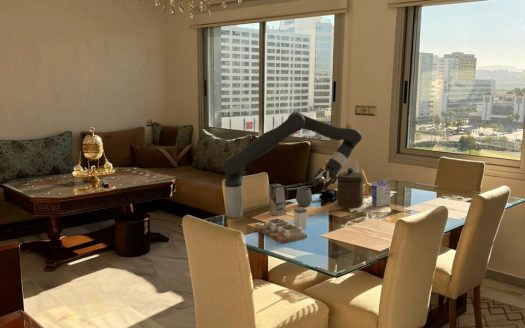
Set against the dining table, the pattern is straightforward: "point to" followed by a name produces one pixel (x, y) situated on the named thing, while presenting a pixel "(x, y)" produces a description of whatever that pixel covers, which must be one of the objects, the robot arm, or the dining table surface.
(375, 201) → the ink cartridge box
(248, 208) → the dining table surface
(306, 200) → the cup
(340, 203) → the wooden container
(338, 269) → the dining table surface
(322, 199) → the end cap
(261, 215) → the dining table surface
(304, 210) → the plug
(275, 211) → the coffee box
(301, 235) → the socket board
